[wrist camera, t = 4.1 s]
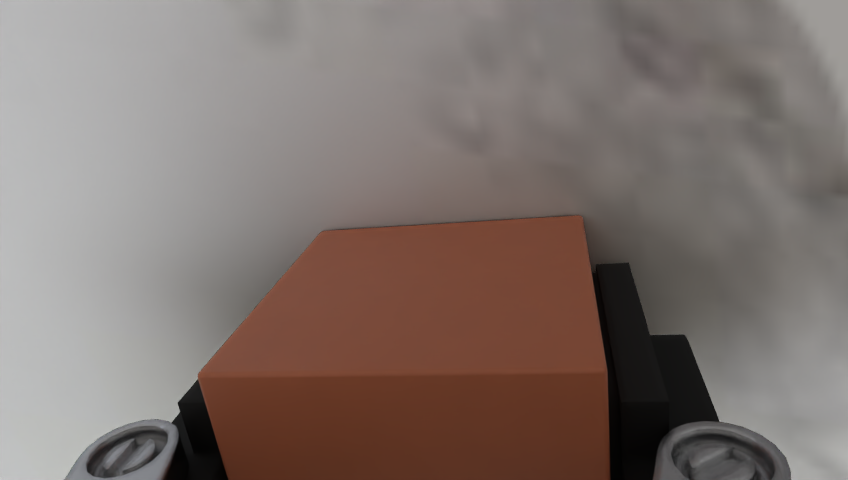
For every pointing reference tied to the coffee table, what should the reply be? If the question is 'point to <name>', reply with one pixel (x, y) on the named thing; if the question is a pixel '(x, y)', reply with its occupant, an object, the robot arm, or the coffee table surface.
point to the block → (420, 359)
